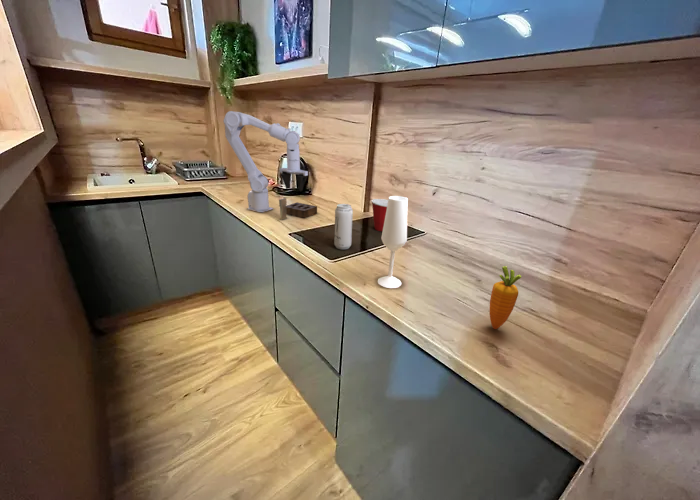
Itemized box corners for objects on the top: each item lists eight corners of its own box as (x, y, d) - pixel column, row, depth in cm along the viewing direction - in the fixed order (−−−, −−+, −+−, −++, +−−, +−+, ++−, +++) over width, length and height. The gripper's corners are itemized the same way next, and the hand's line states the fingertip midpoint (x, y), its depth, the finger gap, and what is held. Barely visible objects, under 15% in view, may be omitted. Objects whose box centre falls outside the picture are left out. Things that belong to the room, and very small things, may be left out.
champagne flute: (406, 285, 84) (417, 200, 75) (386, 290, 81) (395, 202, 72) (392, 274, 89) (400, 194, 80) (373, 279, 86) (379, 196, 77)
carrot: (511, 335, 65) (530, 274, 60) (489, 336, 65) (506, 274, 59) (499, 321, 70) (515, 263, 64) (478, 322, 70) (493, 263, 64)
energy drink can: (332, 244, 109) (332, 203, 103) (347, 242, 111) (349, 202, 105) (337, 250, 104) (338, 208, 98) (353, 249, 106) (355, 207, 100)
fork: (280, 219, 133) (279, 199, 130) (285, 217, 136) (284, 198, 133) (281, 220, 133) (280, 199, 130) (287, 218, 136) (286, 198, 132)
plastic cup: (396, 234, 122) (399, 205, 118) (369, 233, 122) (371, 203, 118) (393, 225, 132) (396, 198, 127) (368, 224, 132) (370, 197, 128)
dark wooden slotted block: (283, 213, 142) (283, 206, 140) (297, 209, 150) (296, 202, 149) (304, 218, 137) (304, 210, 135) (317, 213, 145) (317, 206, 143)
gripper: (275, 158, 137) (276, 188, 143) (300, 162, 131) (301, 193, 137) (285, 157, 143) (286, 186, 149) (310, 160, 137) (310, 190, 142)
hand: (294, 189), depth 143 cm, fingers open, 7 cm apart
